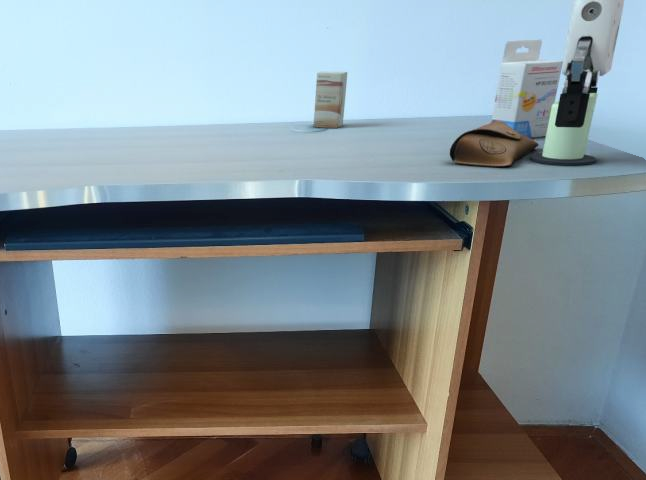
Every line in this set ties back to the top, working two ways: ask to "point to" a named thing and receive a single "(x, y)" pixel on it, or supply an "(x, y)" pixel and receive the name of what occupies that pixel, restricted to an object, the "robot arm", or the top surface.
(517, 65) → the ink box
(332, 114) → the cream medicine box
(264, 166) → the top surface
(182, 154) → the top surface
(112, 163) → the top surface
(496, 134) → the sunglasses case
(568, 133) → the candle
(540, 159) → the coaster
